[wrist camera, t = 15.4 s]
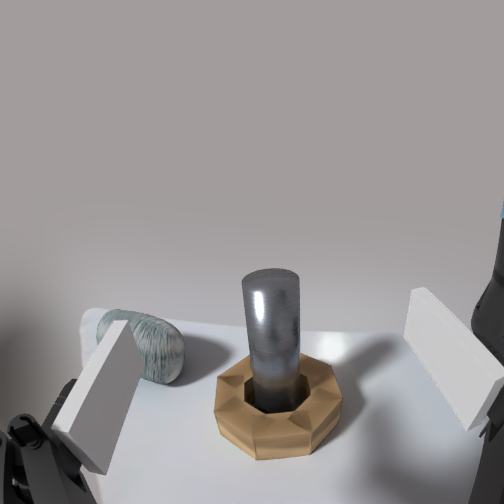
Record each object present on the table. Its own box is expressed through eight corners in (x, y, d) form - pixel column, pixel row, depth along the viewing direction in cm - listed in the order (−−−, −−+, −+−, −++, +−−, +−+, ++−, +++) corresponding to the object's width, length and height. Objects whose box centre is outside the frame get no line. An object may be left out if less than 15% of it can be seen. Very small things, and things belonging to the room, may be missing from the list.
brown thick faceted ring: (322, 370, 34) (324, 345, 32) (346, 448, 22) (352, 425, 21) (224, 380, 34) (219, 355, 32) (218, 461, 22) (210, 440, 21)
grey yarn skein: (77, 352, 34) (90, 287, 34) (125, 346, 43) (140, 290, 42) (139, 414, 28) (160, 343, 28) (187, 394, 37) (210, 333, 37)
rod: (296, 397, 30) (294, 266, 25) (301, 426, 26) (303, 289, 21) (256, 401, 30) (241, 270, 25) (258, 431, 26) (241, 295, 21)
